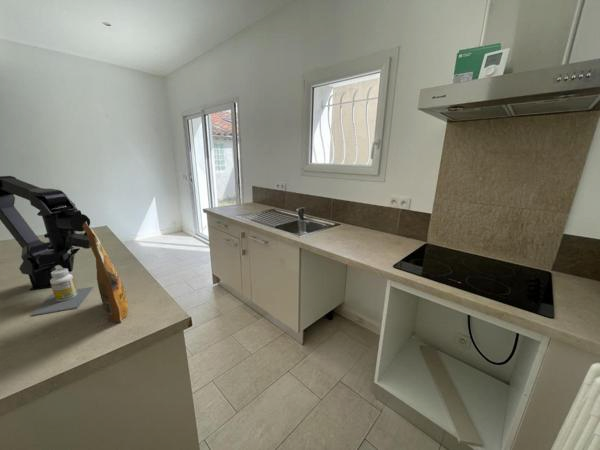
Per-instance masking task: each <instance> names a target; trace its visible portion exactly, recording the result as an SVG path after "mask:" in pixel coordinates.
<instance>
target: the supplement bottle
mask: <svg viewBox="0 0 600 450" xmlns="http://www.w3.org/2000/svg"><path fill="white" fill-rule="evenodd" d="M51 276H52V277H53V278H52V279H51V280H50V283H51V287H50V288H51V290H52V293H54V296H55V299H56V300H57V301H65V300H69V299H71V298H73V297H75V296H76V295H77V290H76V289H77V288H76V284H75V280H74V277H73V274H71V273H70V272H69V271H68V269H67V268H62V267H61V268H58V269H57V268H56V270H54V271H52V272H51Z"/></svg>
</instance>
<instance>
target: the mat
mask: <svg viewBox="0 0 600 450" xmlns="http://www.w3.org/2000/svg"><path fill="white" fill-rule="evenodd" d="M93 288H94V286H87V287H81V288H76V290H77V295H76V296H75V297H73V298H71V299H69V300H65V301H57V300H56V299H55V296H54V293H53V292H52V293H51V294H50V295H49V296H48V297H47V298H46V299H45V300H44V301H43V302H42V303H41V304H40V305H39V306H38V307H37V308H36V309H35V310H34V311H33V312H32V313H31V314H30V317H34V316H40V315H47V314H53V313H58V312H63V311H69V310H74V309H78V308H79V307H80V306H81V305H82V303H83V302H84V301H85V299H86V298H87V296H88V295H89V294H90V293H91V291H92V290H93Z"/></svg>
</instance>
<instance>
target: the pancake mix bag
mask: <svg viewBox="0 0 600 450" xmlns="http://www.w3.org/2000/svg"><path fill="white" fill-rule="evenodd" d="M83 229H84V231H83V232H84V233H85V232H86V233H87V236H88V240H89V242H90V246H91V247H90V249H91V250H92V253H93V255H94V257H95V266H96V267H95V268H96V280H97V287H98V288H97V289H98V292H99V295H100V299H101V302H102V305H103V309H104V311H105V313H106V316H107V317H108V321H109V322H111V323H122V320H124V319H125V318H127V316H128V314H129V305H128V297H127V294H126V292H127V291H126V289H125V287H124V284H123V281H122V280H121V278H120V275H119V274H118V272H117V270H116V268H115V266H114V264H113V263H112V261H111V259H110V258H109V255H108V254H107V252H106V251H105V249H104V247H103V245H102V244H101V240H100V239H99V238H98V236H97V234H96V233H95V231H94V230H93V229H92V228H91V227H90V226H88V225H87V222H85V223H84V224H83Z"/></svg>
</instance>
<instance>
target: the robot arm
mask: <svg viewBox="0 0 600 450" xmlns="http://www.w3.org/2000/svg"><path fill="white" fill-rule="evenodd" d="M15 196H17V197H20V198H22V199H25V200H27V201H29V202H30V204H29V205H31V207H33V208H36V209H37V210H39V211H38V213H37V216H39V217H42V220H43V223H44V224H43V225H44V228H45V231H46V233H45V234H44V235H43V237H44V238H45V239H48V241H47V242H44V241H42V240H40V238H39V237H38V235H37V234H36V233H35V232H34V230H33V229H32V228H31V227H30V225H29V224H28V222H27V221H26V219H25V218H24V217H23V216H22V215H21V213H20V212H19V211H18V209H17V208H16V207H15V202H16V197H15ZM0 222H1V224H3V225H4V227H5V228H6V229H7V231H8V232H9V233H10V234H11V236H12V238H13V239H14V240H16V242H17V243H18V244H19V246H20V247H21V249H22V250H21V259H22V263H21V264H20V266H19V268H18V269H19V270H20V272H21V274H22V275H27V276H28V278H29V281H30V283H31V287H29V291H33V290H41V289H46V288H52V287H51V283H50V280H51V279H52V278H53V277H52V276H51V272H52V271H54V270H57V268H56V267H57V266H60V267H61V269H62V268H67V269H68V271H69V273H70V272H73V270H74V263H75V255H76V254H77V253H78V252H79V251H80V250H81V248H82V249H84V250H85V249H87V250H88V249H91V246H90V242H89V240H88V236H87V233H86V232H85V231H84V229H83V224H84V223H85V222H87V225H88V226H89V227H90V225H91V220H90V218H89V217H88V216H87V215H86V214H83V213H82V211H81V210H80V209H78V208H77V206H76V204H75V203H74V202H73V201H72V200H71V199H70V198H69V197H68V196H67V194H66V193H65V192H63V190H60V189H56V188H44V187H39V186H36V185H34V184H31V183H29V182H26V181H24V180H21V179H17V177H15V176H12V175H1V176H0ZM77 232H80V233H77ZM82 232H84V233H82ZM75 247H77V248H75Z"/></svg>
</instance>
